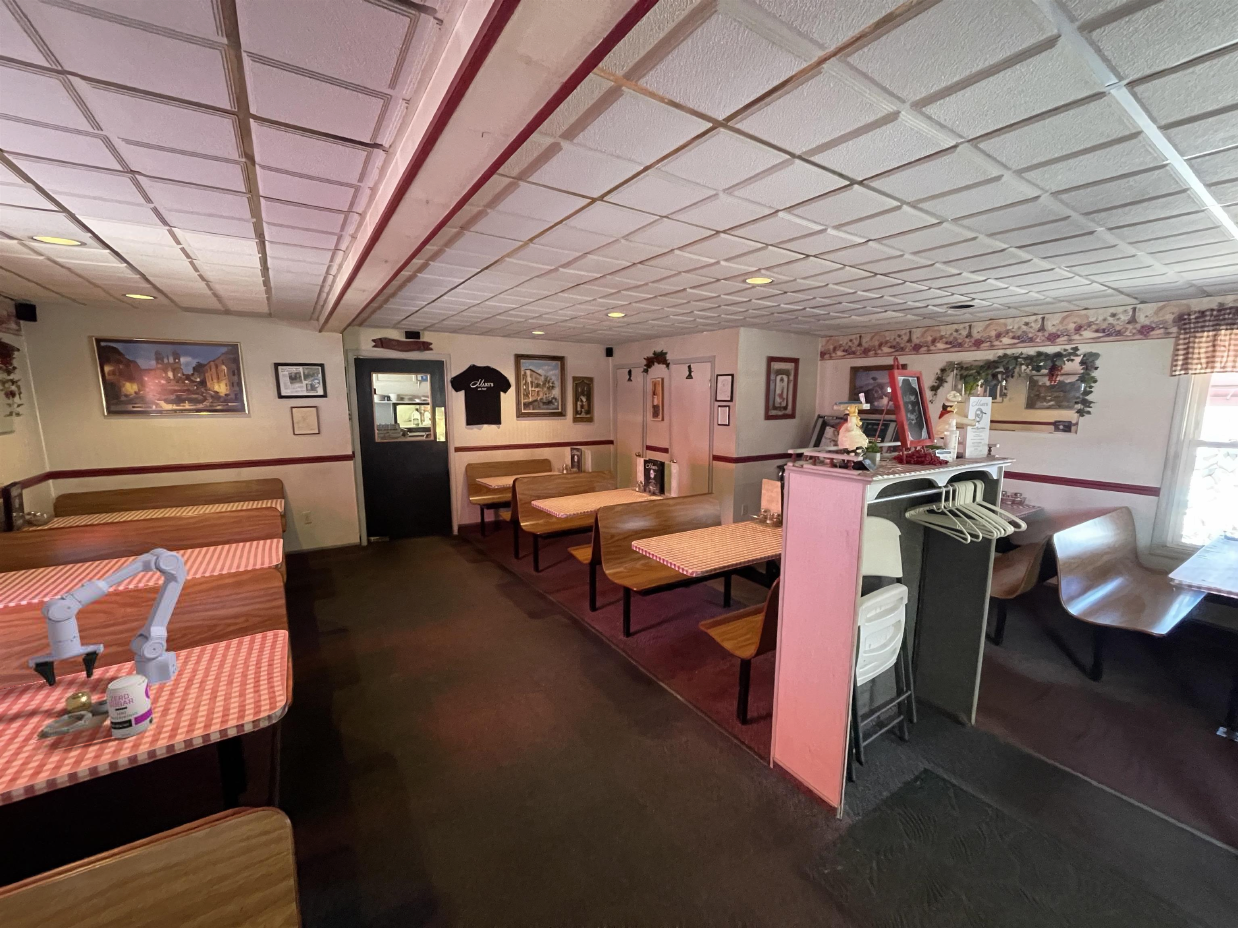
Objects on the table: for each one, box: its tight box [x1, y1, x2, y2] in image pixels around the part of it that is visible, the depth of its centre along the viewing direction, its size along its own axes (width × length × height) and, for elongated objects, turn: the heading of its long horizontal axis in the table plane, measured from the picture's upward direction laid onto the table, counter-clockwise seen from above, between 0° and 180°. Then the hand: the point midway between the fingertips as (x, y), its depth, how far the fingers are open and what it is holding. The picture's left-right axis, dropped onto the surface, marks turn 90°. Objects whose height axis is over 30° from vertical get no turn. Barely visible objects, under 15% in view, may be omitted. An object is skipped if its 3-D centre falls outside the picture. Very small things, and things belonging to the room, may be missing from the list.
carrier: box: [35, 698, 110, 742], centre depth 139 cm, size 13×16×4 cm
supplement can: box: [105, 673, 154, 739], centre depth 133 cm, size 8×8×15 cm
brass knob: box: [64, 690, 93, 714], centre depth 141 cm, size 5×5×5 cm
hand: (71, 680), depth 141 cm, fingers open, 7 cm apart
